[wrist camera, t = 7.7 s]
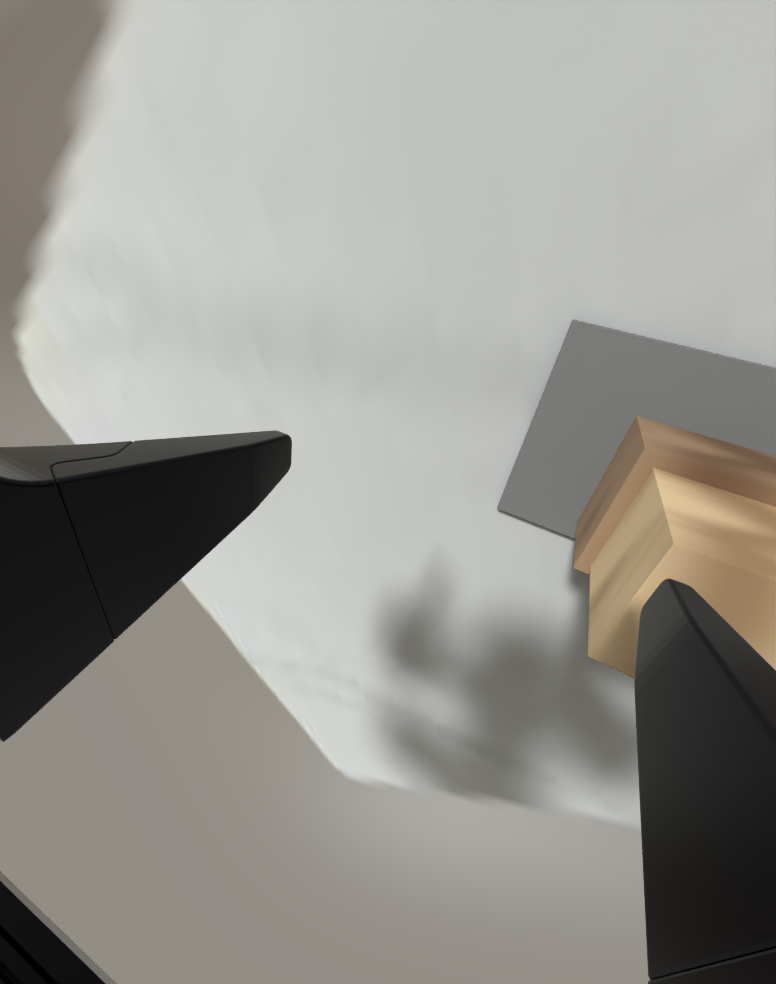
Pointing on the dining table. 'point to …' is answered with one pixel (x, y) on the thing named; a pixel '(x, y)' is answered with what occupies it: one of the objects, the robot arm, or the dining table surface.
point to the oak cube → (684, 564)
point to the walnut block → (674, 454)
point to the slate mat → (628, 414)
